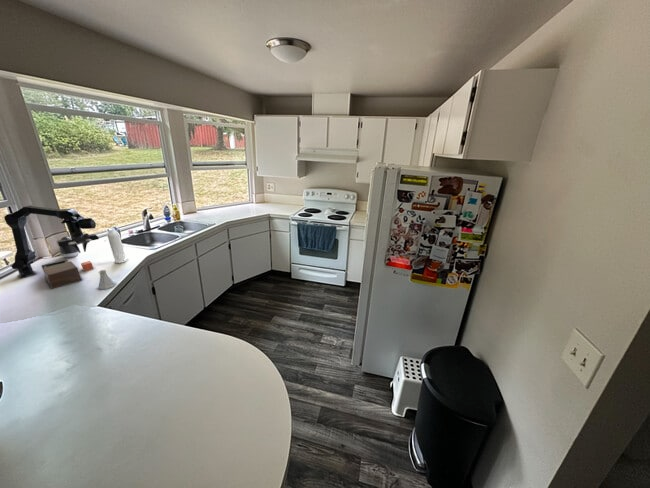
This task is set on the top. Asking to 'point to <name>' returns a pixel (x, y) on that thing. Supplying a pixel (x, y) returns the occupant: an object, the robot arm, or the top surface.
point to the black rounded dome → (68, 249)
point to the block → (87, 266)
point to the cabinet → (61, 274)
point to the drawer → (54, 263)
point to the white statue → (116, 246)
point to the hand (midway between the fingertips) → (82, 252)
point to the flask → (105, 280)
